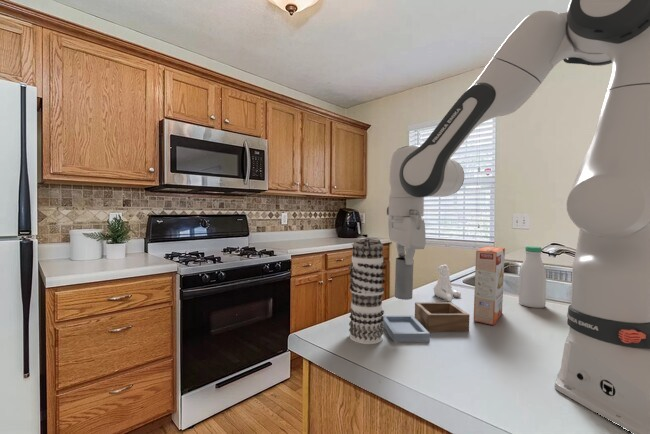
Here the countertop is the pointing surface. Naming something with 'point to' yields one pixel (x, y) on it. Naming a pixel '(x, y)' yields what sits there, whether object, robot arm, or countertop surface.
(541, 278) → the milk bottle
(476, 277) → the cracker box
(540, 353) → the countertop surface
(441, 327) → the box
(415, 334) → the tray
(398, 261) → the grey cylinder
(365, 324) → the decorative candle
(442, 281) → the sitting furry creature
